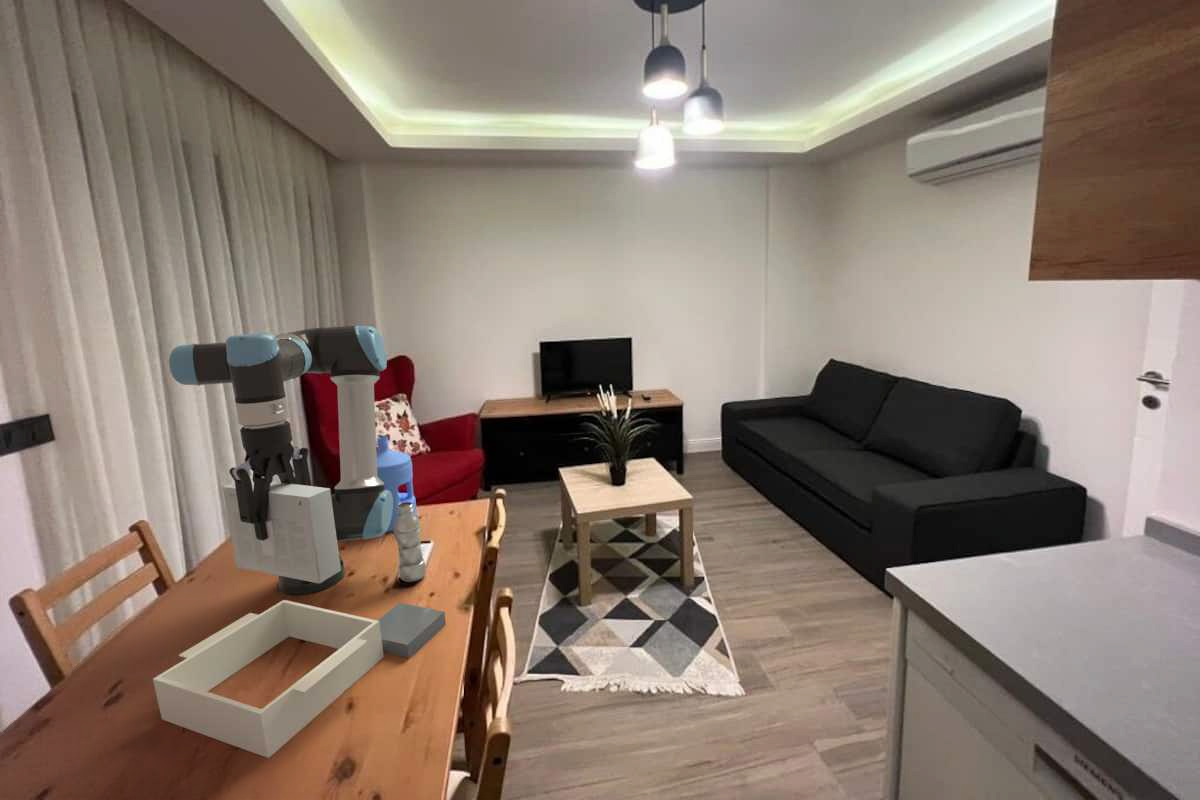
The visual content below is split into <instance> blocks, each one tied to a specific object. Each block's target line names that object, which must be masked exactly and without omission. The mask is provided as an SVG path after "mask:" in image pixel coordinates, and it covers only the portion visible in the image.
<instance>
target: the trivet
mask: <svg viewBox="0 0 1200 800" xmlns="http://www.w3.org/2000/svg"><path fill="white" fill-rule="evenodd" d="M377 621H379V623H380V631H381V639H382V647H383V653H386V654H389V655H394V656H399V657H402V658H406V659H410V658H411V657H412V656H413V655H415V653H417V652H418V651H419V650H420V649H421V648H422V647H423V646H424V645H425V644H427V642H429V641H430V640H431V639H432V637H434V636H435V635H436V634H437V633H438V632H439V631H441V629H442V628H443V627H444V626H445V625H446V614H445V611H443V610H439V609H433V608H428V607H423V606H418V605H412V604H408V603H404V602H399V603H398V604H396V605H395V606H394V607H392V608H391V609H389V610H388V611H387V612H386V613H385V614H383V615H382V616H380V617H379V618H378V619H377Z"/></svg>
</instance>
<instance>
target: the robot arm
mask: <svg viewBox="0 0 1200 800" xmlns="http://www.w3.org/2000/svg"><path fill="white" fill-rule="evenodd" d="M387 358H388V357H387V350H386V346H385V343H384V340H383V338H382V336H381V334H380V332H379V330H378V329H376V327H374V326H370V325H369V326H367V325H349V326H345V325H344V326H333V327H332V326H331V327H312V328H307V329H302V330H297V331H290V332H286V333H280V334H277V335H275V334H273V333H270V332H260V333H243V334H235V335H231V336H229V337H227V339H226V340H225V341H224V342H213V343H212V342H210V343H191V344H181V345H178V346H176V347H174V348H173V349H172V350H171V352H170V354H169V358H168V365H169V371H170V374H171V376H172V378H173V379H174V380H175V381H176V382H177V383H179V384H180V385H184V386H198V387H199V386H205V385H218V384H219V385H220V384H231V385H232V389H233V395H234V402H235V403H234V404H235V408H236V409H235V410H236V416H237V422H238V425H240V426H242V427H241V428H240V429H239V433H240V438H241V443H242V447H243V450H244V451H245V457H244V462H243V463H242V464H240V465H239V466H237V467H235V466H234V467H233V466H232V467H231V468H230V469H229V474H230V476H231V478H232V479H233V481H234V483H235V487H236V494H237V500H238V507H239V514H240V520H241V521H242V522H245V523H251V524H254V528H255V534H256V538H257V539H258V540H261V545H262V550H263V554H264V555H269V556H276V555H278V554H277V548H276V541H275V535H274V529H273V523H272V520H267V515H268V503H269V492H270V484H271V483H272V482H274V481H273V479H274V476H278V479H279V481H280V483H285V484H297V485H306V486H313V485H312V481H311V480H312V479H311V475H310V470H309V463H308V458H309V457H308V455H309V448H307V447H299V446H295V447H294V445H293V444H292V443H291V442H292V441H293V433H292V428H291V422H289V421H288V419H289V417H290V416H289V410H288V402H287V397H286V392H285V389H286V388H285V382H287V381H290V380H295V379H297V378H299V377H300V376H302V375H304V374H306V373H308V374H330V380H331V381H332V382H333V383H334V384H335V385H336V386H337V388H336V389H337V406H338V407H337V412H338V413H337V414H338V440H339V441H338V442H339V462H340V464H339V465H340V481H339V482H338V483H337V484H336V485H335V486H334V494H332V493H331V500H332V508H333V515H334V523H335V530H336V537H337V542H341V541H353V540H362V539H363V540H369V539H373V538H380V537H382V536H384V535H385V534H386V533H387V532H386V531H387V529H388V527H389V525H390V521H391V517H392V511H393V498H392V493H391V492H390V491H388V490H384V482H382V481H381V480H380V479H379V478H378V476H377V453H376V452H377V436H376V435H377V431H376V408H375V384H376V383H377V382H378V380H380V372H383V371H384V370H386V369H387V362H388V359H387ZM291 461H292V464H291ZM251 471H252V472H251ZM250 476H252V478H251V477H250ZM251 479H252V480H253V482H254V490H253V489H252V482H251ZM339 559H340V566H341V571H339V572H338V573H336V574H335V575H333V576H331V577H329V578H328V579H326V580H325V581H323V582H321V583H314V582H309V581H304V580H299V579H294V578H289V577H284V576H279V575H278V578H277V579H278V580H277V582H278V586H279V588H278V589H279V591H280V592H282V593H283V594H284V595H291V596H295V595H296V596H301V595H308V594H309V595H310V594H312V593H316V592H320V591H322V590H325V589H327V588H329V587H332V586H333V585H336V584H337V583H338V582H340V581H341V580H342V579H343V578H344V577H345V574H346V568H345V563H344V560H343V559H342V557H341V556H340V554H339Z"/></svg>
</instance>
